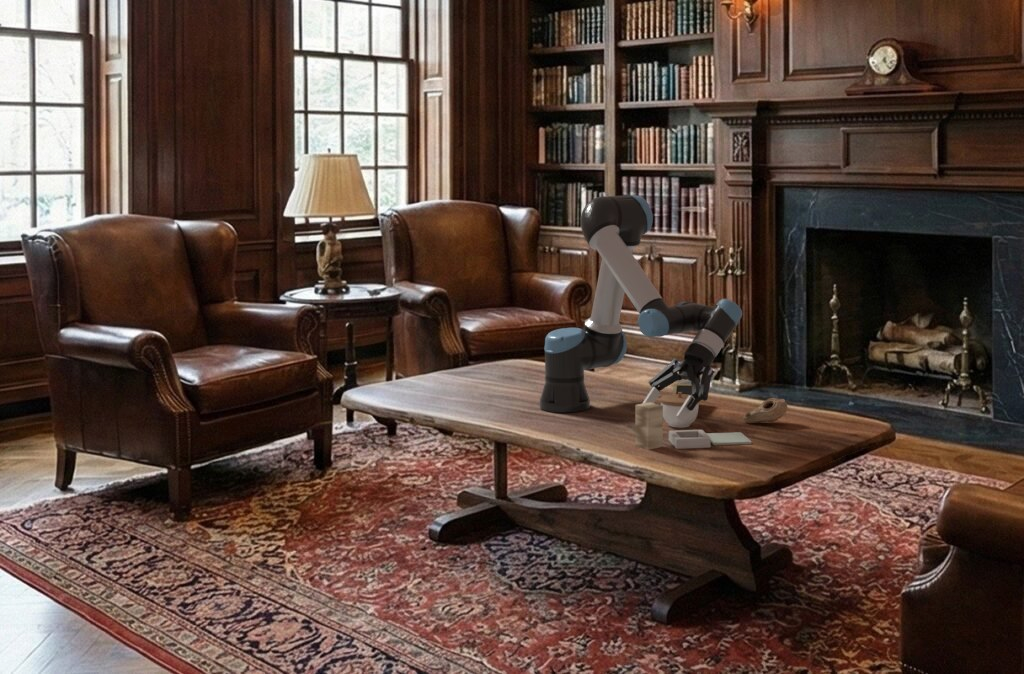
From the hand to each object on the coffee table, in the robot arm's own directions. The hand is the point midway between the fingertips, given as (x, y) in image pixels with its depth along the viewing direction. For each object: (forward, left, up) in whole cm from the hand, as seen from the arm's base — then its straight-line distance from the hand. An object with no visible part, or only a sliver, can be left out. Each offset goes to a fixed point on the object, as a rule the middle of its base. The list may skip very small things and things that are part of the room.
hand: (661, 414), depth 295 cm
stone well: (+8, 0, -8) cm, 11 cm away
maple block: (-3, -1, -8) cm, 9 cm away
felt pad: (+19, +3, -8) cm, 21 cm away
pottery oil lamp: (+34, +19, -9) cm, 40 cm away
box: (+15, +36, -9) cm, 40 cm away
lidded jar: (+10, +20, -9) cm, 24 cm away
